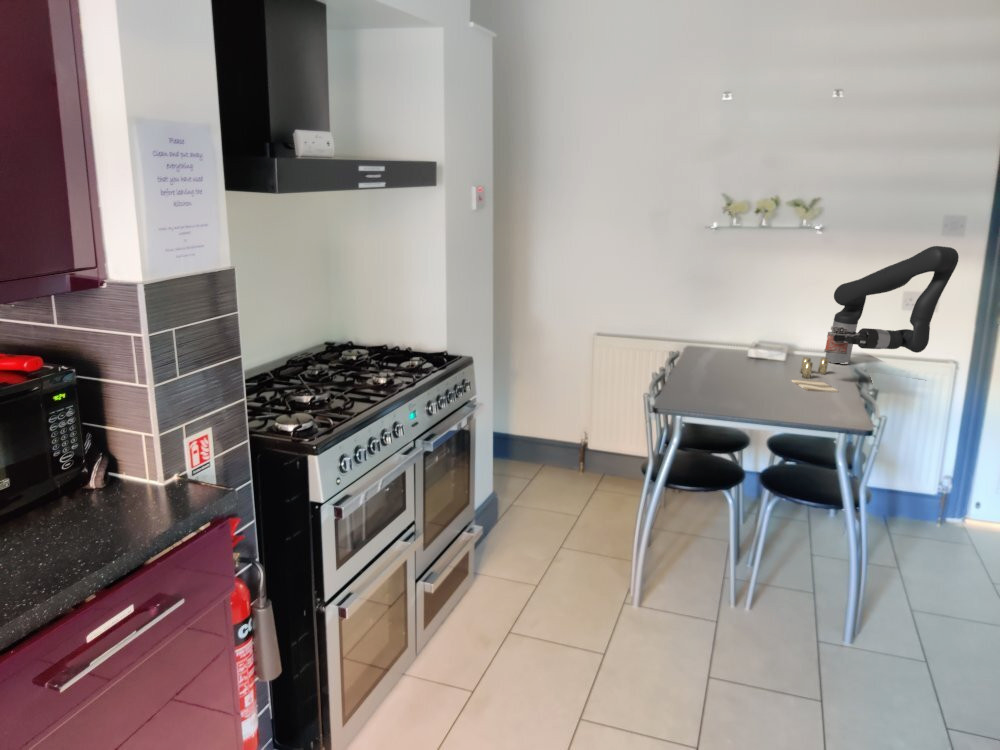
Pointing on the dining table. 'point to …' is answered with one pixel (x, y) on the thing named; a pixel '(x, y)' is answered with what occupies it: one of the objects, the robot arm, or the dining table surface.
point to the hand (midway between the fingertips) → (831, 336)
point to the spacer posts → (807, 367)
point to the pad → (814, 385)
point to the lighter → (836, 346)
